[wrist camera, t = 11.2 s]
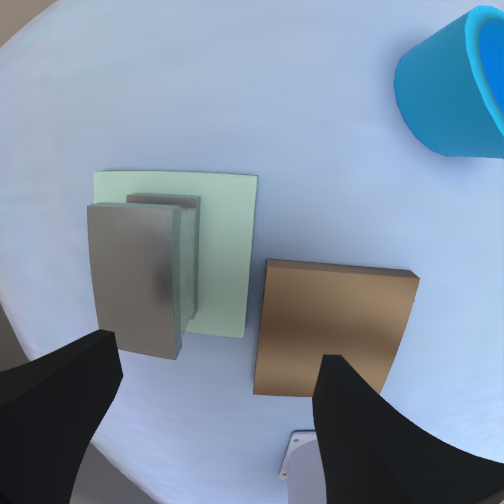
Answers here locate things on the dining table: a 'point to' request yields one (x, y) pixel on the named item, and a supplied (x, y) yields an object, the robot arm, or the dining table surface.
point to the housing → (145, 269)
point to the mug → (457, 86)
